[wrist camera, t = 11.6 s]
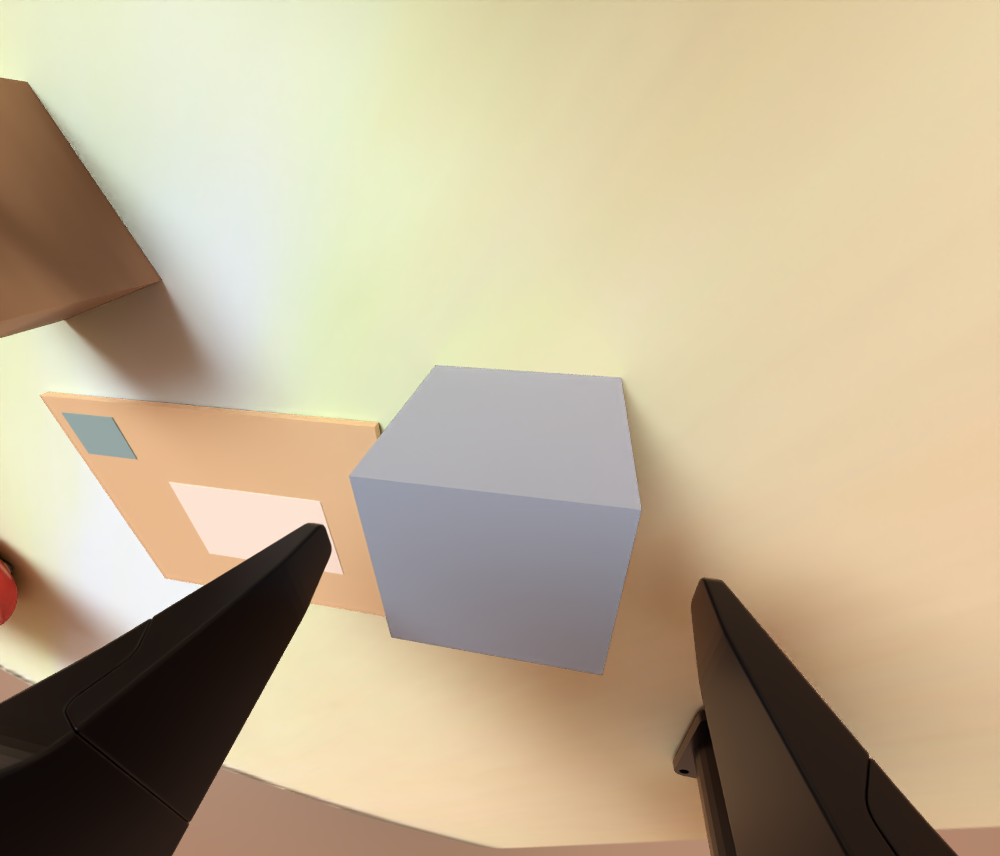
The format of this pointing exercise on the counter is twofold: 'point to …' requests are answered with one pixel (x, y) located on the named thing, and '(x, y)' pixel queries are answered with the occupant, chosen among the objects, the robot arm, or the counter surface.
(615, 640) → the counter surface
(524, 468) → the slate cube
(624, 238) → the counter surface
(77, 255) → the walnut block
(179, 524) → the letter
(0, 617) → the plant pot
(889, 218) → the counter surface
